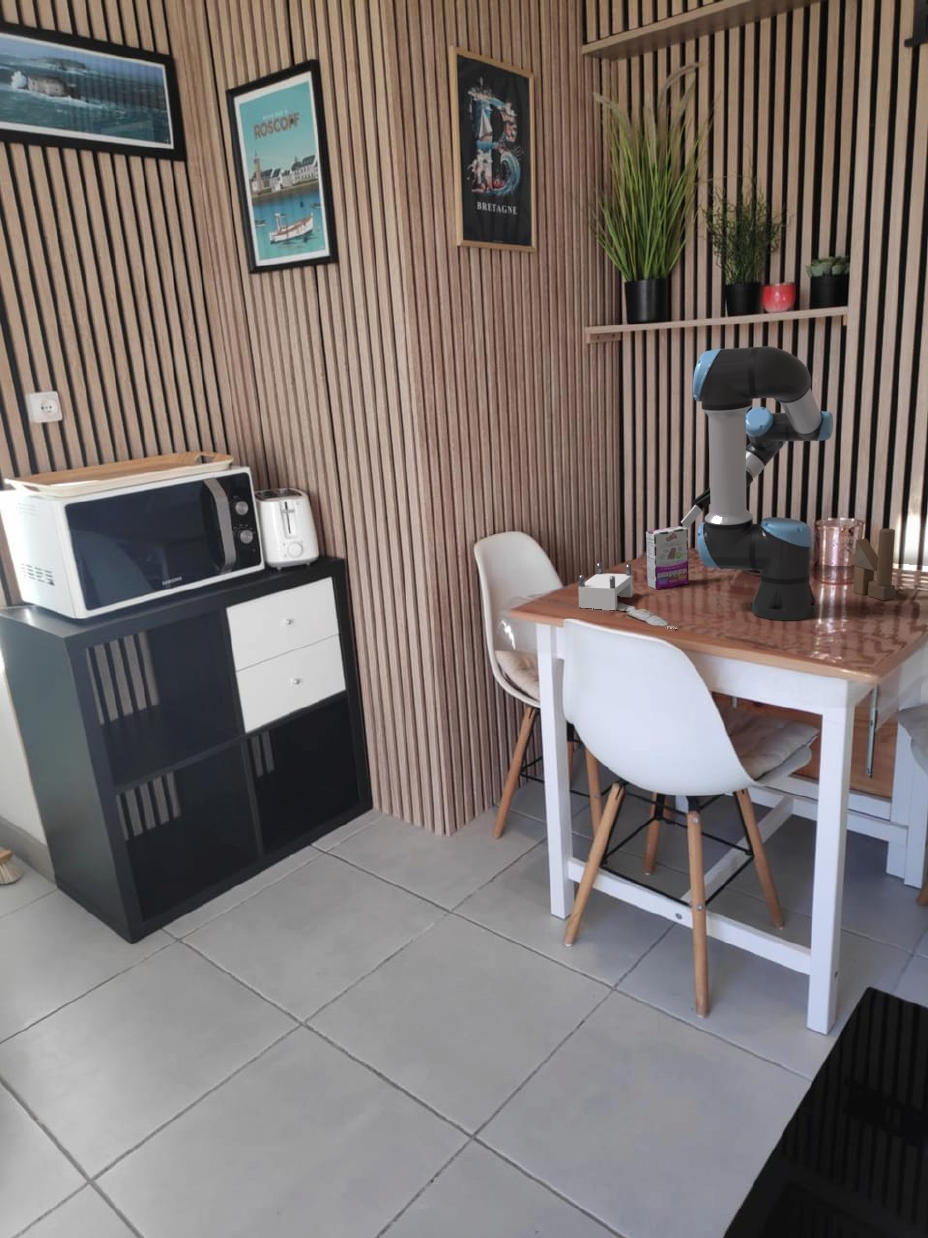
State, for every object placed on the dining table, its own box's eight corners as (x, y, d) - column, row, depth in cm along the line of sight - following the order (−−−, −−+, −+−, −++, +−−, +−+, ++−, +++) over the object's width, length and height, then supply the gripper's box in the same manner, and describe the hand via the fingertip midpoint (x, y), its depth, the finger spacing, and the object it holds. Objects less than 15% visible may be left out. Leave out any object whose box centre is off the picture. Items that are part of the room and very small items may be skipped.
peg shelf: (632, 595, 252) (632, 564, 250) (615, 610, 239) (614, 577, 236) (598, 593, 257) (597, 562, 254) (579, 608, 243) (577, 575, 241)
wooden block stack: (863, 590, 241) (867, 523, 236) (894, 599, 231) (899, 529, 227) (852, 592, 240) (855, 525, 235) (883, 601, 230) (887, 531, 225)
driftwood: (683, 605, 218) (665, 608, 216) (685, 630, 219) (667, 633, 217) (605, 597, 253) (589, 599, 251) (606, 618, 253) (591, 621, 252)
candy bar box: (679, 580, 264) (678, 525, 260) (689, 584, 260) (689, 527, 255) (646, 586, 261) (645, 530, 256) (655, 590, 256) (655, 533, 251)
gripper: (775, 484, 246) (724, 544, 247) (731, 474, 269) (684, 529, 271) (757, 466, 243) (706, 527, 245) (714, 458, 267) (667, 514, 268)
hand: (694, 529), depth 258 cm, fingers open, 13 cm apart
